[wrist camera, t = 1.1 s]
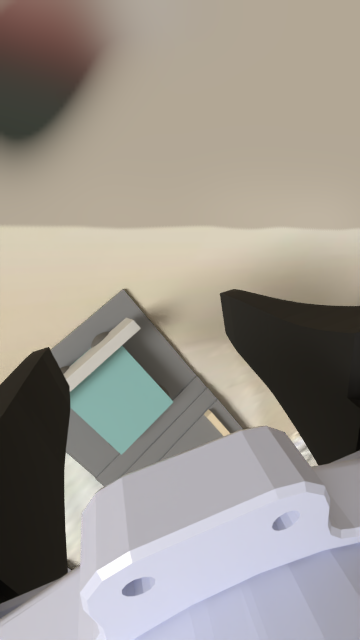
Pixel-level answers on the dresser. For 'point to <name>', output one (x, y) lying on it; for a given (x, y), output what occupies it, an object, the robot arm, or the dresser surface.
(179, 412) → the dock
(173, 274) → the dresser surface
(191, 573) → the robot arm
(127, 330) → the grey teal-panelled part
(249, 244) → the dresser surface
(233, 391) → the dresser surface
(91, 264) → the dresser surface
